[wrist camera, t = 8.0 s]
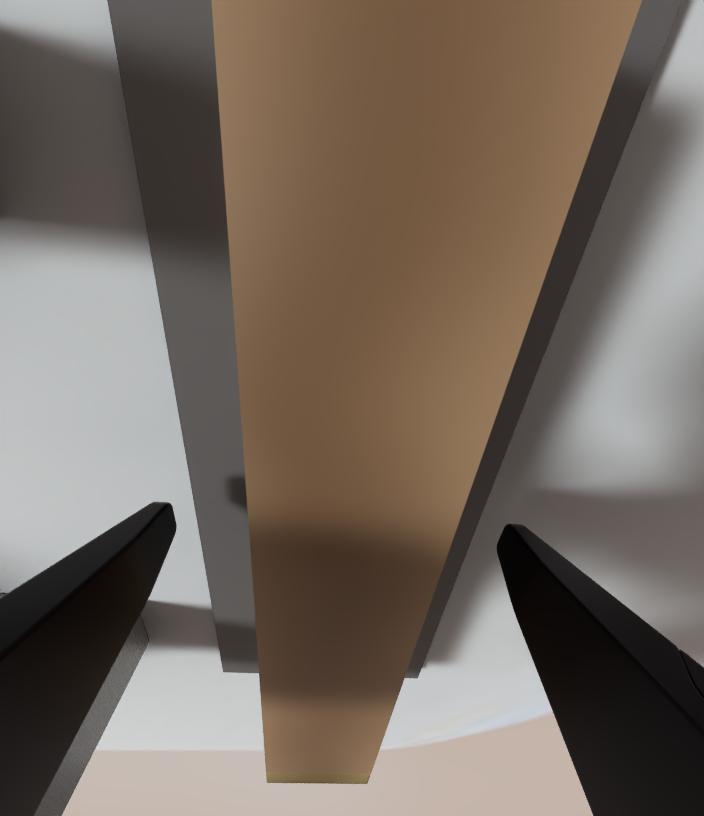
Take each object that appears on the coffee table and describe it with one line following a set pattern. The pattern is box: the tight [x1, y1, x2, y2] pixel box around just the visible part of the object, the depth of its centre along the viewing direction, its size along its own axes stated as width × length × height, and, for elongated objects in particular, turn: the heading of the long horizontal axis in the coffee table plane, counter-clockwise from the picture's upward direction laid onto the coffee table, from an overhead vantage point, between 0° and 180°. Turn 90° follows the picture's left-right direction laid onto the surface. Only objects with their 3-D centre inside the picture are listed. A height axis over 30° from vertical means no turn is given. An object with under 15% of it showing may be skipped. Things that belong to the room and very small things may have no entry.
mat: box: [107, 0, 682, 678], centre depth 10 cm, size 9×22×1 cm, turn 174°
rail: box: [211, 0, 642, 784], centre depth 8 cm, size 4×20×4 cm, turn 174°
